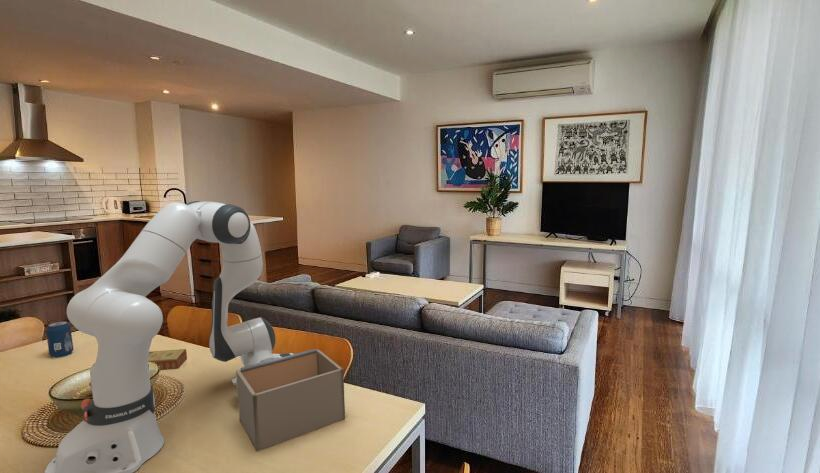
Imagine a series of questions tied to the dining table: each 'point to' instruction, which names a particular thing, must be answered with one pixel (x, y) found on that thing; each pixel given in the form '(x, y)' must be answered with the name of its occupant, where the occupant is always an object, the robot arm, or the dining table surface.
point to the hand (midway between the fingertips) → (281, 387)
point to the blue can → (59, 339)
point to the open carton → (292, 405)
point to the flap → (281, 371)
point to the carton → (168, 358)
